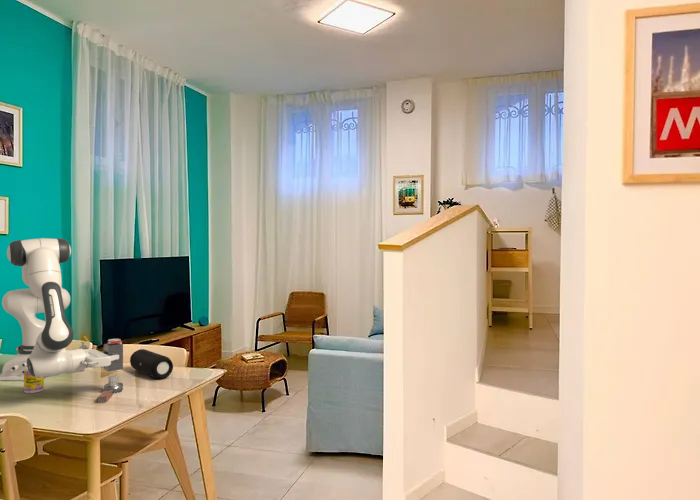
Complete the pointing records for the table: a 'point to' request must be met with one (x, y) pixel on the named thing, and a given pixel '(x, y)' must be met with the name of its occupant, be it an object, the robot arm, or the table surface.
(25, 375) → the supplement bottle
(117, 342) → the soda can
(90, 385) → the table surface
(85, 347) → the pocket watch
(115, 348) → the square metal cup
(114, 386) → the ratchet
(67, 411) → the table surface
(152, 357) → the portable speaker
